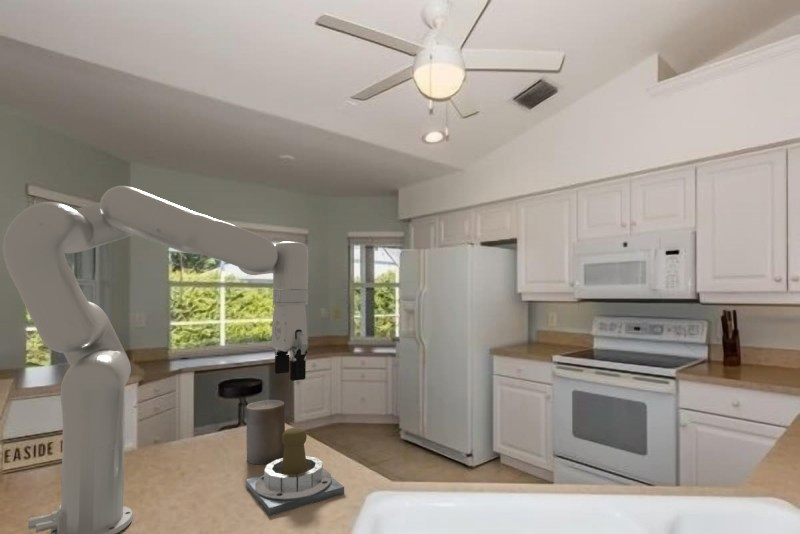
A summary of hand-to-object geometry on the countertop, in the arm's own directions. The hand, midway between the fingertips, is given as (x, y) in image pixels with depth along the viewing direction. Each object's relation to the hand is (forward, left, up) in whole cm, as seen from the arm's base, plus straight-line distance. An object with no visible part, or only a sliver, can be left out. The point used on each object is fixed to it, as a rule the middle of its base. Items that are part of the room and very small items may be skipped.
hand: (289, 376), depth 99 cm
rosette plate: (+1, -1, -24) cm, 24 cm away
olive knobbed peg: (+1, -1, -22) cm, 22 cm away
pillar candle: (+2, +22, -25) cm, 33 cm away
